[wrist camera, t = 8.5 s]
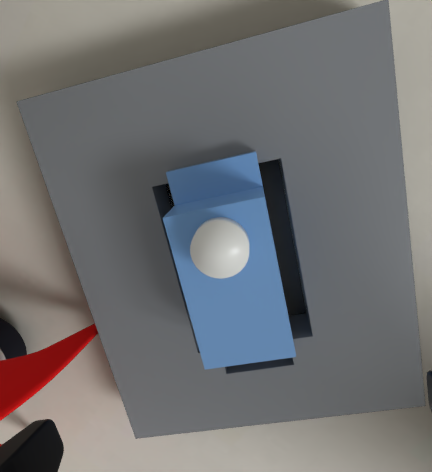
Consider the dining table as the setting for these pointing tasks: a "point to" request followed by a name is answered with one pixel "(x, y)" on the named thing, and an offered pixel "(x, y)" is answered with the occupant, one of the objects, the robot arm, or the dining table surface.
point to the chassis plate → (298, 205)
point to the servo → (228, 262)
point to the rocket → (32, 364)
